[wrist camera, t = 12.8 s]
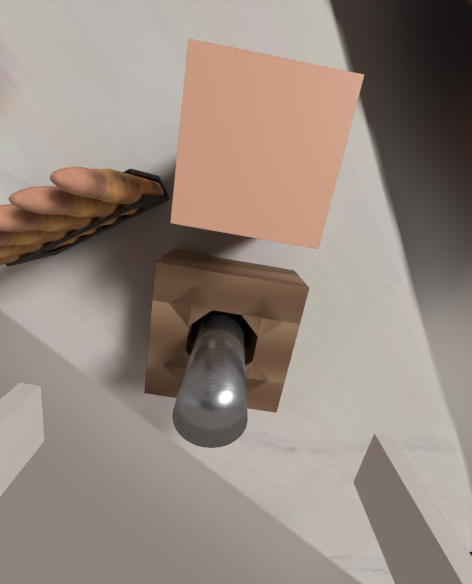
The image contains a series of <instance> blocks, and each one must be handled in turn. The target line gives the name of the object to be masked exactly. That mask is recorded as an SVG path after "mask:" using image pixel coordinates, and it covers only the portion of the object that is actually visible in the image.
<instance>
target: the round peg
mask: <svg viewBox="0 0 472 584" xmlns="http://www.w3.org/2000/svg"><path fill="white" fill-rule="evenodd" d="M173 422H174V426H175V428H176V430H177V431H178V433H179V434H180V435H181V436H182V437H183V438H184V439H186V440H187V441H189V442H190V443H192V444H195V445H197V446H201V447H208V448H215V447H221V446H225V445H228V444H230V443H232V442H234V441H235V440H236V439H238V438H239V437H240V436H241V435H242V433H243V432H244V430H245V428H246V425H247V396H246V373H245V351H244V328H243V316H242V315H240V314H234V313H228V312H221V311H215V310H212V311H210V312H209V313H207V314H206V315H204V316H203V317H202V321H201V324H200V327H199V330H198V333H197V336H196V340H195V343H194V346H193V349H192V352H191V356H190V359H189V362H188V365H187V368H186V371H185V375H184V378H183V381H182V384H181V387H180V391H179V394H178V397H177V400H176V403H175V406H174V410H173Z"/></svg>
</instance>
